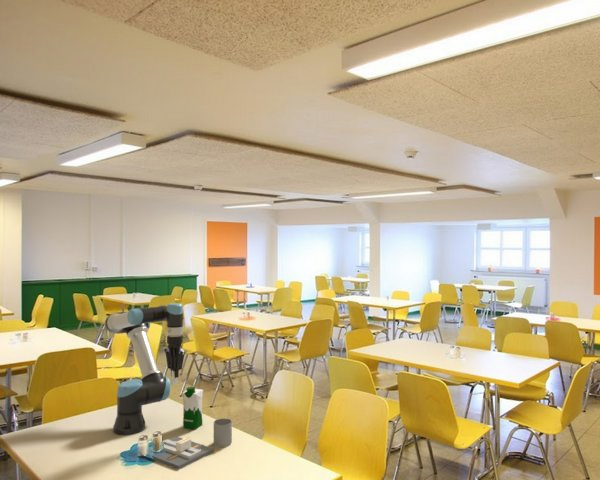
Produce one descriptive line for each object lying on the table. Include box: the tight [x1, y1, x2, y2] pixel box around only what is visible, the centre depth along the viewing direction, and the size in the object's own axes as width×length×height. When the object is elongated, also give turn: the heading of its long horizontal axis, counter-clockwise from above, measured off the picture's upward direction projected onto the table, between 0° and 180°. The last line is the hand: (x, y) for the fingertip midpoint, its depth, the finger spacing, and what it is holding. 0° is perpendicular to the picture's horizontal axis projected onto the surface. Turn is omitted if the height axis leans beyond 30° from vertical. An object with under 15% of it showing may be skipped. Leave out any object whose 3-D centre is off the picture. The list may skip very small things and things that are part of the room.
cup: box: [213, 418, 233, 448], centre depth 217 cm, size 8×8×10 cm
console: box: [152, 436, 215, 470], centre depth 206 cm, size 24×20×3 cm
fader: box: [176, 437, 192, 452], centre depth 204 cm, size 3×6×5 cm, turn 146°
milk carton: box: [182, 386, 204, 431], centre depth 238 cm, size 9×9×20 cm
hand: (174, 383), depth 228 cm, fingers closed
